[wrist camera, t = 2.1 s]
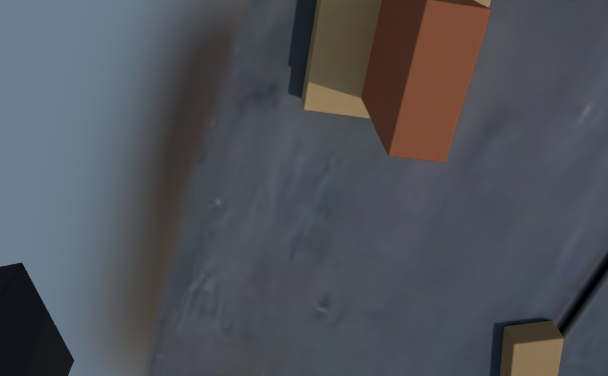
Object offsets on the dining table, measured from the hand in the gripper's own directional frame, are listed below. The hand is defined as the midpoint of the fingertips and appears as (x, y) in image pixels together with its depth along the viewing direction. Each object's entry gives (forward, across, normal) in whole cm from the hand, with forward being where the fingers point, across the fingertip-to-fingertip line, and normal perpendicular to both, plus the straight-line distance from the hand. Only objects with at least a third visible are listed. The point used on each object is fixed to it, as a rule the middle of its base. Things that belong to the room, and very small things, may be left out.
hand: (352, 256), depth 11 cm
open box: (+19, +4, -1) cm, 20 cm away
